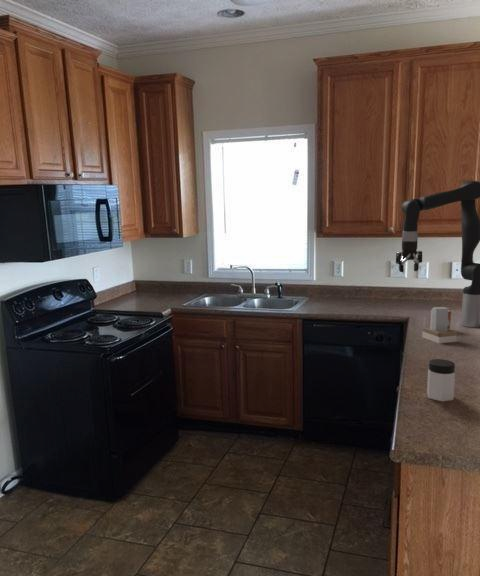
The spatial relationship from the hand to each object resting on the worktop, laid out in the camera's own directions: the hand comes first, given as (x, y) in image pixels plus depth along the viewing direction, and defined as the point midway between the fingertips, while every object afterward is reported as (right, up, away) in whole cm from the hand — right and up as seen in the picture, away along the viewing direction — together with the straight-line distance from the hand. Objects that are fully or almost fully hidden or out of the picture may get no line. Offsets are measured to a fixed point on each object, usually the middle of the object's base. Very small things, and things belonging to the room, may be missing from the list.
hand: (408, 271), depth 262 cm
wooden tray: (+8, -33, -19) cm, 39 cm away
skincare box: (+8, -30, -19) cm, 36 cm away
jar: (-19, -45, -90) cm, 103 cm away
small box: (+15, -30, -2) cm, 34 cm away
